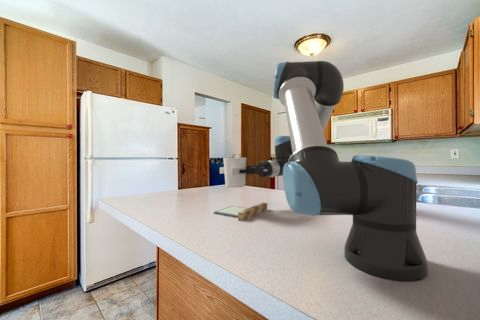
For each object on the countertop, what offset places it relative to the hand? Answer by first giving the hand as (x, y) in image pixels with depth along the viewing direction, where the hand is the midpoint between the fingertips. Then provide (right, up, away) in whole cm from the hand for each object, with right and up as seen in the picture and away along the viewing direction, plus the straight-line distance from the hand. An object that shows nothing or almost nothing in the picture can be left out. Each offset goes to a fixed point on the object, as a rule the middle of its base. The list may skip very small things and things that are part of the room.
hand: (225, 171), depth 90 cm
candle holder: (+4, -7, +3) cm, 8 cm away
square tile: (+4, -18, +3) cm, 18 cm away
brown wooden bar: (+12, -18, -1) cm, 21 cm away
